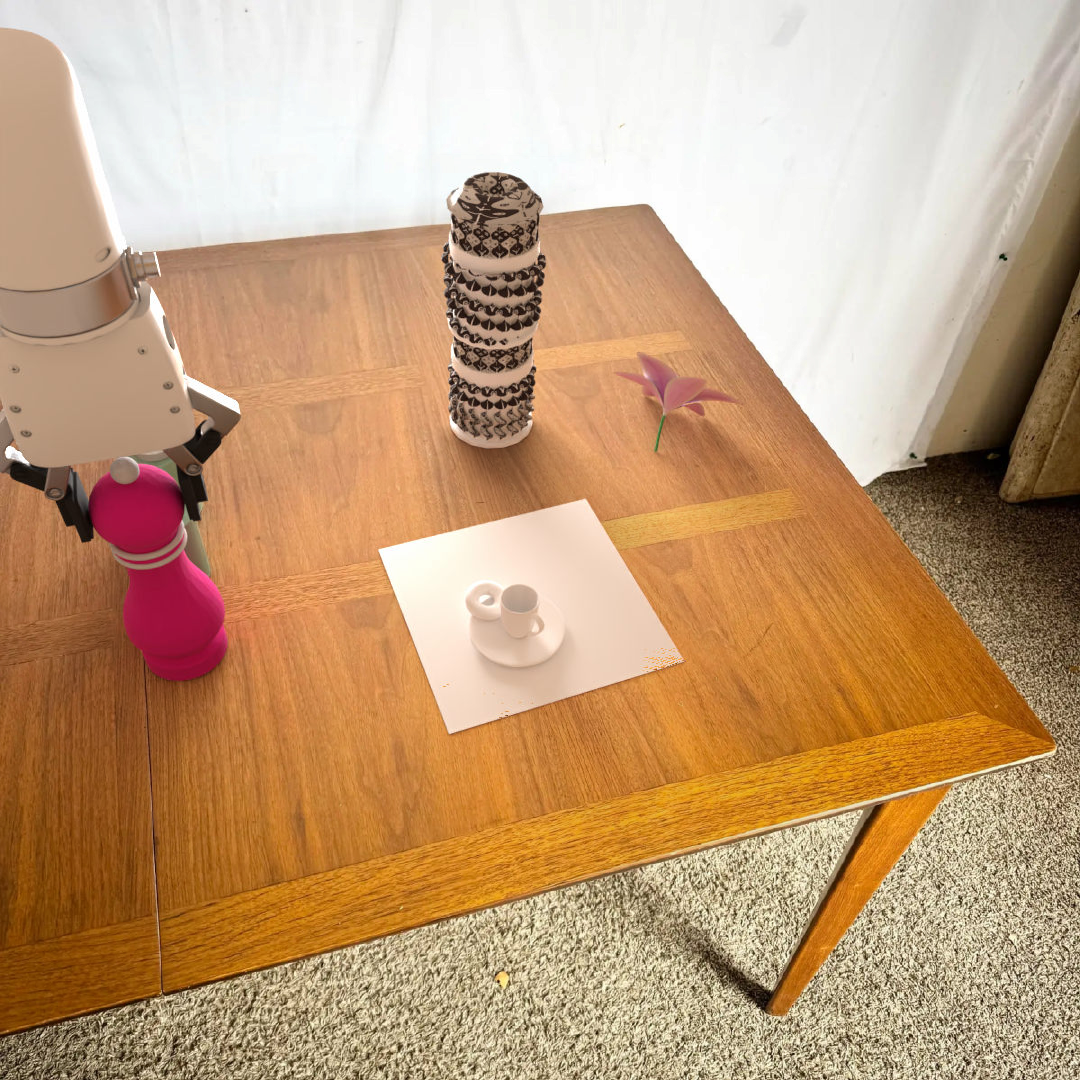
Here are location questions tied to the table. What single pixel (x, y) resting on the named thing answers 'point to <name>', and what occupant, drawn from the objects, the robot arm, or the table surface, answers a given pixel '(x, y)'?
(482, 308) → the patterned beaded cylinder
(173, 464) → the shaker far
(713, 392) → the lily
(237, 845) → the table surface
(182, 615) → the pepper mill
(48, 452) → the robot arm
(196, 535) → the shaker mid
